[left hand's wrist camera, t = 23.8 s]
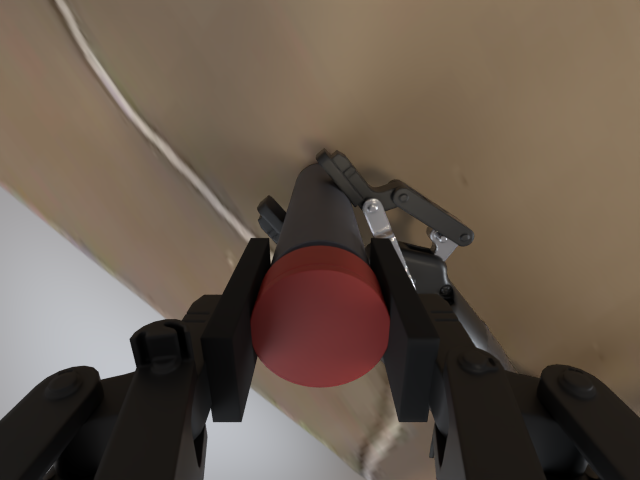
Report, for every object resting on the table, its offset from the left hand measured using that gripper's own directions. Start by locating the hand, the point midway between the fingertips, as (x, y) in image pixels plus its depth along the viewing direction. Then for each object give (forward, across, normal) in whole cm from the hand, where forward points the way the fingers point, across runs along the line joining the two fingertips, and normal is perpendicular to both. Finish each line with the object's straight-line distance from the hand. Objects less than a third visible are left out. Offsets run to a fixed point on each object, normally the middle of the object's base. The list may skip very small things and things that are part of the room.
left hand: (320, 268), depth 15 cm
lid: (-4, 0, 0) cm, 4 cm away
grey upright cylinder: (+14, 0, 0) cm, 14 cm away
